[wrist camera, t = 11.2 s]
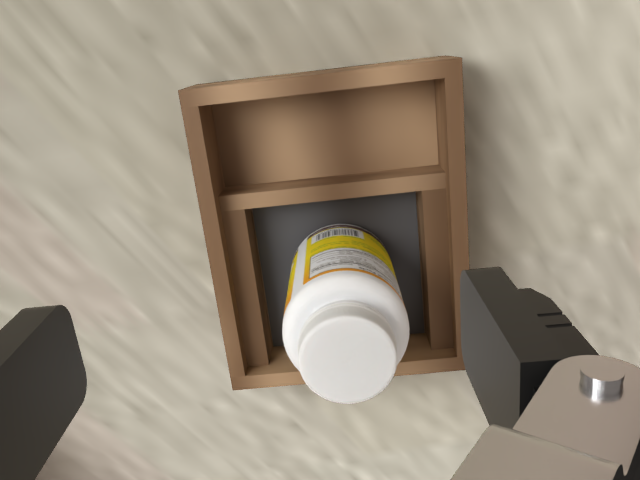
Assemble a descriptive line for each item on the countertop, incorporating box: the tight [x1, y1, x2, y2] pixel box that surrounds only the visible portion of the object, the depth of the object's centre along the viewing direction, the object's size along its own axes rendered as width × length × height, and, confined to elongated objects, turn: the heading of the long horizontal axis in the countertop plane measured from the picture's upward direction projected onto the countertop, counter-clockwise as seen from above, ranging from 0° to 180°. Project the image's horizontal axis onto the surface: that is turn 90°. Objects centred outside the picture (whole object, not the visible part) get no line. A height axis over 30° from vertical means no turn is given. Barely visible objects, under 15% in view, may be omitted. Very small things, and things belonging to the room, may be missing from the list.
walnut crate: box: [178, 56, 469, 390], centre depth 31 cm, size 13×16×4 cm
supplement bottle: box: [282, 224, 410, 404], centre depth 28 cm, size 6×6×10 cm
